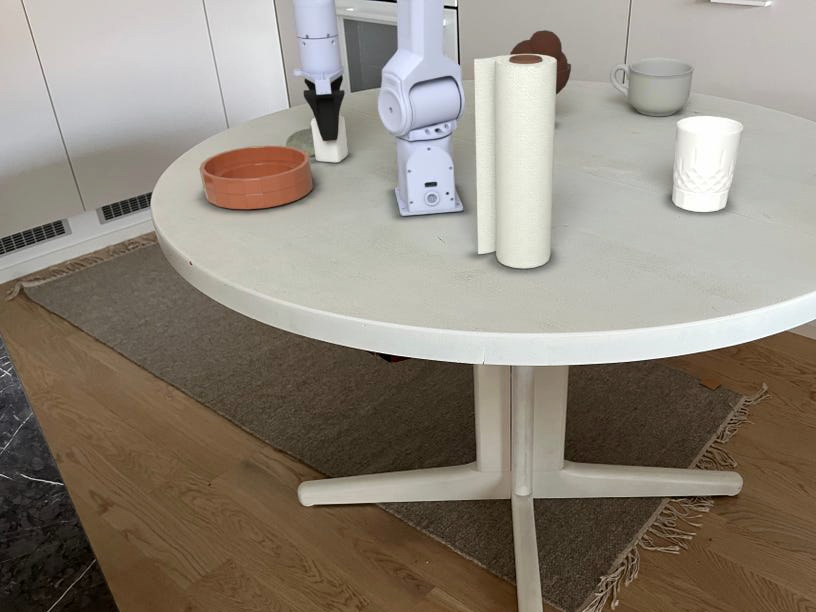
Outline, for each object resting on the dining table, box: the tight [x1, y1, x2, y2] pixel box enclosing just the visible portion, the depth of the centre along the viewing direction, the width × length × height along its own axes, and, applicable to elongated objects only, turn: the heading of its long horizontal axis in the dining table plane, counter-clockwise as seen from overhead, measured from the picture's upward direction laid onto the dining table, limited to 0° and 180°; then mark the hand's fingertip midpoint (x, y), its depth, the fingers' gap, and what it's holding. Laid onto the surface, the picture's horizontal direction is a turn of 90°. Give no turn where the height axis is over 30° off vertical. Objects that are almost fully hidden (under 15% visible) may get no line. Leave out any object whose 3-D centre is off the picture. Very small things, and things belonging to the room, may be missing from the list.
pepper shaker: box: [310, 114, 349, 164], centre depth 117 cm, size 4×4×10 cm
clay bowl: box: [198, 145, 314, 210], centre depth 107 cm, size 14×14×4 cm
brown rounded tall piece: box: [509, 29, 572, 95], centre depth 128 cm, size 11×11×15 cm
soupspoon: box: [285, 126, 315, 157], centre depth 129 cm, size 22×3×7 cm
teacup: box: [609, 57, 695, 117], centre depth 136 cm, size 14×11×8 cm
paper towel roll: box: [473, 54, 557, 269], centre depth 83 cm, size 7×6×21 cm
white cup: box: [671, 115, 744, 213], centre depth 99 cm, size 8×8×10 cm
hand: (329, 133), depth 117 cm, fingers open, 6 cm apart
